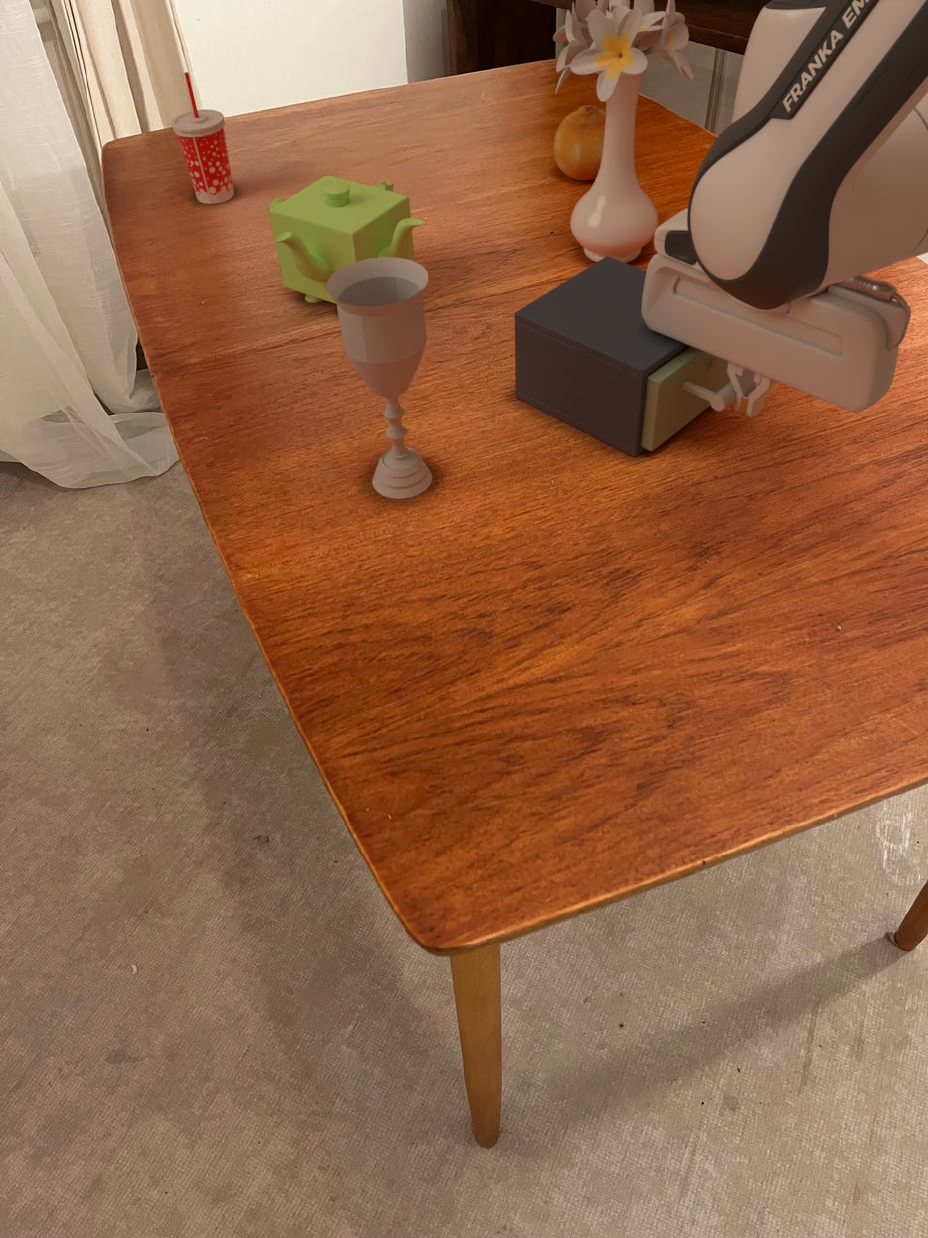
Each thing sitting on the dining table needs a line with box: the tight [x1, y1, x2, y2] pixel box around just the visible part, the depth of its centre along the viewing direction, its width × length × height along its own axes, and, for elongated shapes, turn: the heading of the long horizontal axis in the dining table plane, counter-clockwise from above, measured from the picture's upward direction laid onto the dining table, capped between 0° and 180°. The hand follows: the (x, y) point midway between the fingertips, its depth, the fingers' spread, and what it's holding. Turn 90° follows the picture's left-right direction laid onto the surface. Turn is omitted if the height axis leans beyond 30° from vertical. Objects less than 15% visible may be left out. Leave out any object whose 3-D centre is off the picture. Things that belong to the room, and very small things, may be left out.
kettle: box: [266, 174, 425, 305], centre depth 100 cm, size 15×14×11 cm
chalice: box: [327, 257, 433, 500], centre depth 76 cm, size 7×7×18 cm
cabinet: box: [514, 256, 689, 458], centre depth 86 cm, size 14×13×9 cm
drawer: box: [641, 346, 757, 452], centre depth 84 cm, size 17×11×7 cm
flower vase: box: [552, 0, 694, 264], centre depth 98 cm, size 13×18×25 cm
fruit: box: [552, 104, 606, 181], centre depth 118 cm, size 8×8×8 cm
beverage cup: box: [171, 71, 235, 205], centre depth 116 cm, size 6×6×14 cm
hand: (747, 410), depth 80 cm, fingers closed, pressing on drawer
